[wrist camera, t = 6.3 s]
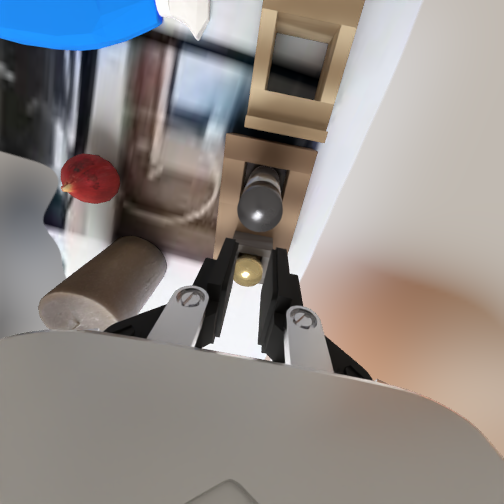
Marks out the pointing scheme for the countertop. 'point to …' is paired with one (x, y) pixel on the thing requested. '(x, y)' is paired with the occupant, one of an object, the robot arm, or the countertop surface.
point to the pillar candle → (105, 287)
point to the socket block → (232, 184)
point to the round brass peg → (248, 270)
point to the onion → (90, 178)
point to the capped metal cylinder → (261, 200)
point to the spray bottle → (93, 21)
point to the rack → (339, 44)
